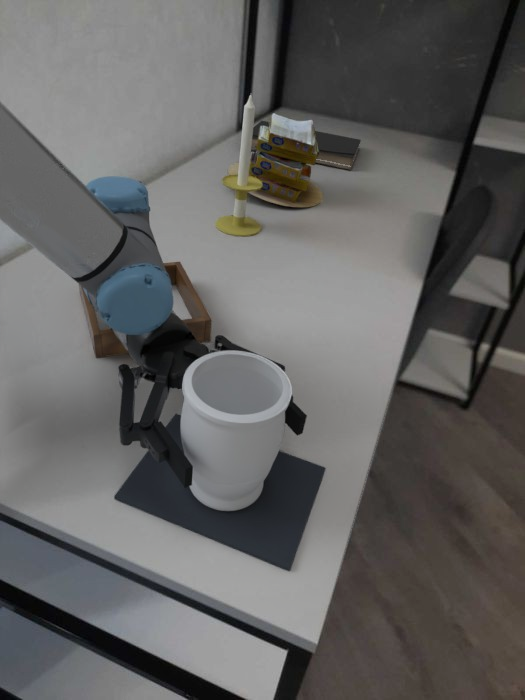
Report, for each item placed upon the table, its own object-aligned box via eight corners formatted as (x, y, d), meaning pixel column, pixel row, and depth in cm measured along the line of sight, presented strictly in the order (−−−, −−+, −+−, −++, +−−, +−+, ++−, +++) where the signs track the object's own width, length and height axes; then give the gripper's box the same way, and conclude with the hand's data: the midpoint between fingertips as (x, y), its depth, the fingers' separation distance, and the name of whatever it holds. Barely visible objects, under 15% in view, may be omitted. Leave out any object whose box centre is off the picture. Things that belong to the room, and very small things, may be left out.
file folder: (243, 135, 153) (263, 118, 172) (242, 149, 156) (261, 131, 175) (353, 156, 149) (361, 137, 168) (350, 171, 152) (358, 150, 171)
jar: (286, 468, 61) (307, 372, 52) (247, 537, 54) (265, 438, 44) (207, 433, 64) (215, 336, 55) (160, 494, 56) (159, 393, 47)
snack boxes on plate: (331, 185, 140) (345, 120, 130) (309, 218, 121) (323, 145, 111) (246, 166, 145) (252, 101, 135) (211, 194, 126) (216, 122, 115)
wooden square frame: (95, 357, 74) (93, 335, 71) (79, 291, 86) (77, 270, 84) (210, 341, 80) (211, 319, 77) (179, 281, 93) (180, 261, 90)
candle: (268, 225, 116) (286, 93, 99) (247, 241, 108) (262, 102, 92) (230, 212, 118) (240, 82, 102) (206, 227, 111) (214, 89, 95)
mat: (114, 499, 56) (113, 496, 56) (175, 415, 67) (175, 413, 66) (289, 571, 52) (289, 568, 51) (324, 470, 62) (325, 467, 62)
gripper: (235, 333, 73) (334, 431, 60) (55, 389, 60) (132, 528, 48) (240, 287, 69) (348, 382, 56) (46, 337, 56) (129, 476, 43)
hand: (249, 450), depth 52 cm, fingers open, 13 cm apart
